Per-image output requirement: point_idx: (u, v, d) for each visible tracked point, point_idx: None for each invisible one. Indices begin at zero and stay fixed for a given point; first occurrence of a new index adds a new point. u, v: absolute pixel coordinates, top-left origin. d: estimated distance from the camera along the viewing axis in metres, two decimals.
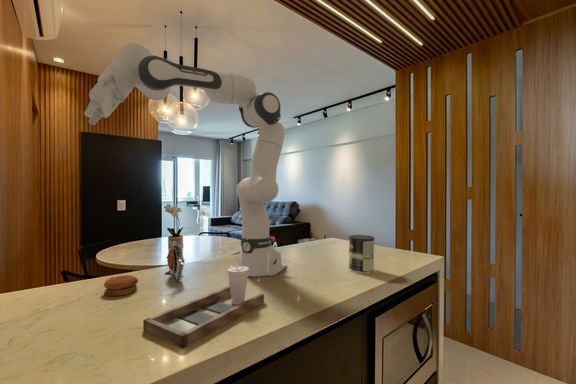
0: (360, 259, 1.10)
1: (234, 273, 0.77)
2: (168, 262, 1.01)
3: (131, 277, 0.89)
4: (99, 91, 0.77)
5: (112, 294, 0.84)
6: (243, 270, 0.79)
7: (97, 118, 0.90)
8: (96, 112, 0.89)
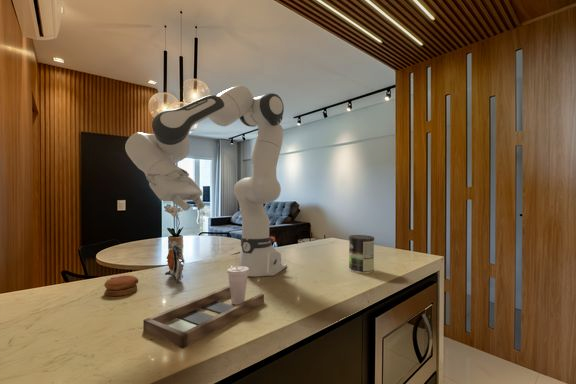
0: (360, 259, 1.10)
1: (234, 273, 0.77)
2: (168, 262, 1.01)
3: (131, 277, 0.89)
4: (160, 191, 0.73)
5: (112, 294, 0.84)
6: (243, 270, 0.79)
7: (199, 200, 0.88)
8: (193, 199, 0.88)
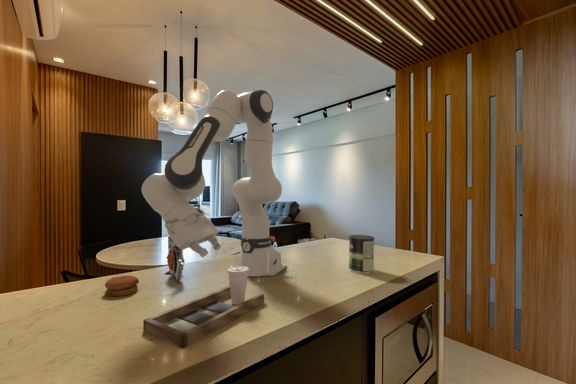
0: (360, 259, 1.10)
1: (234, 273, 0.77)
2: (168, 262, 1.01)
3: (132, 277, 0.89)
4: (179, 239, 0.72)
5: (113, 294, 0.84)
6: (243, 270, 0.79)
7: (215, 241, 0.87)
8: (209, 240, 0.87)
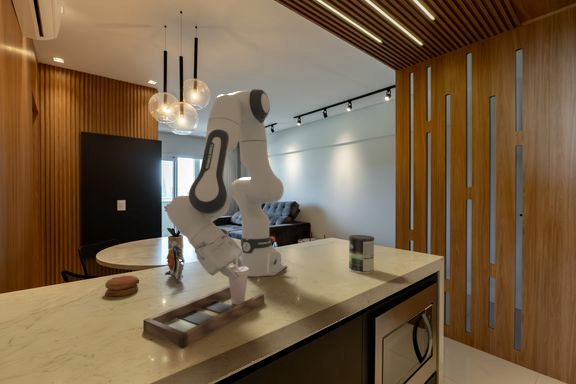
0: (360, 259, 1.10)
1: None
2: (168, 262, 1.01)
3: (132, 277, 0.89)
4: (209, 265, 0.71)
5: (113, 294, 0.84)
6: (243, 270, 0.79)
7: (240, 263, 0.85)
8: (234, 262, 0.85)
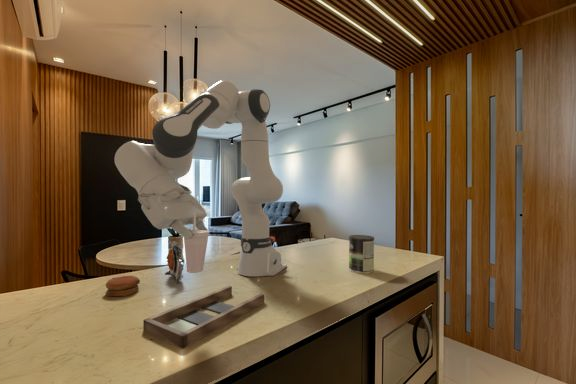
0: (360, 259, 1.10)
1: None
2: (168, 262, 1.01)
3: (133, 277, 0.89)
4: (155, 216, 0.58)
5: (113, 294, 0.84)
6: (201, 232, 0.66)
7: (201, 224, 0.72)
8: None
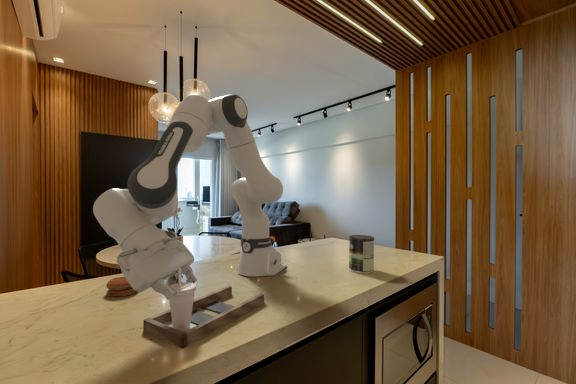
0: (360, 259, 1.10)
1: None
2: None
3: None
4: (135, 279, 0.54)
5: (114, 295, 0.83)
6: (187, 288, 0.62)
7: (189, 273, 0.69)
8: (182, 271, 0.69)
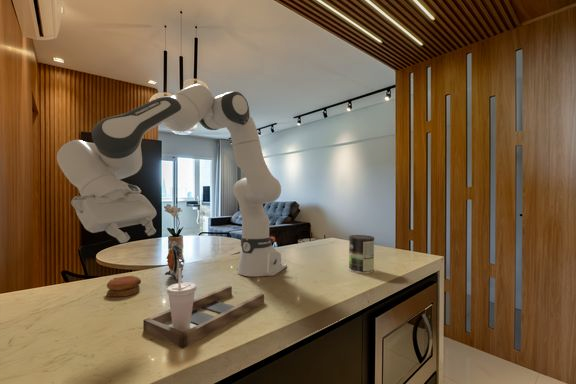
0: (360, 259, 1.10)
1: (174, 293, 0.61)
2: (168, 262, 1.01)
3: (134, 278, 0.89)
4: (87, 220, 0.58)
5: (114, 295, 0.83)
6: (187, 288, 0.62)
7: (149, 224, 0.73)
8: (142, 223, 0.73)
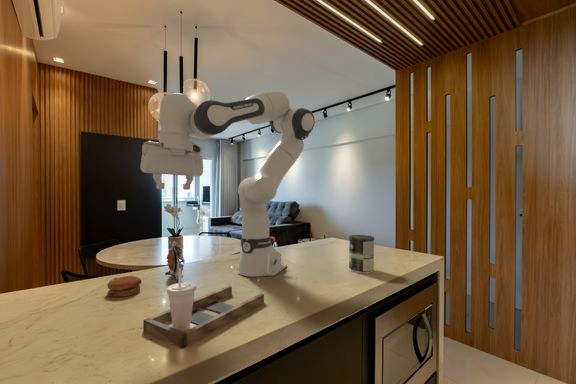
0: (360, 259, 1.10)
1: (174, 293, 0.61)
2: (168, 262, 1.01)
3: (134, 278, 0.88)
4: (143, 163, 0.77)
5: (115, 295, 0.83)
6: (187, 288, 0.62)
7: (189, 181, 0.90)
8: (186, 177, 0.91)
